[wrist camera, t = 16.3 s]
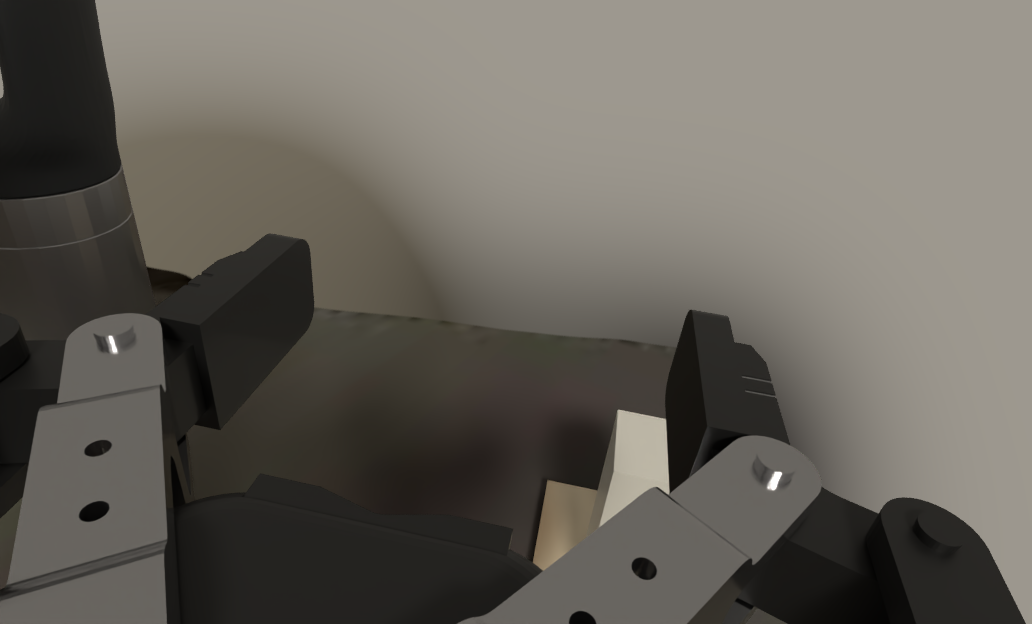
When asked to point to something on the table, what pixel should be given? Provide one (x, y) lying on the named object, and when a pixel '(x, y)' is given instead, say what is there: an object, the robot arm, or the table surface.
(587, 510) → the pin dock
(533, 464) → the table surface
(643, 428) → the block
